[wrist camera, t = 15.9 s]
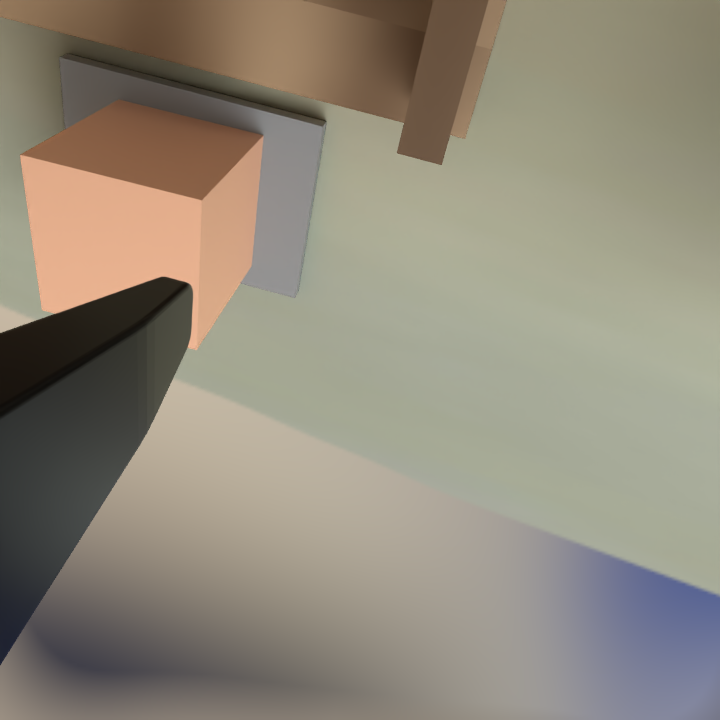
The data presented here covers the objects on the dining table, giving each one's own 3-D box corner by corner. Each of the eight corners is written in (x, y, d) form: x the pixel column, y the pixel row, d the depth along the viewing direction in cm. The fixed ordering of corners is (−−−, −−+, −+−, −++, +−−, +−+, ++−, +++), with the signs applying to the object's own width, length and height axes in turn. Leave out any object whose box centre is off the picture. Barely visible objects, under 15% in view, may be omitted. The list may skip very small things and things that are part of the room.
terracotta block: (263, 135, 19) (201, 200, 15) (251, 265, 22) (196, 349, 18) (118, 99, 19) (19, 154, 15) (124, 233, 22) (42, 309, 18)
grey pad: (326, 121, 19) (322, 126, 19) (298, 290, 23) (294, 298, 22) (68, 53, 19) (59, 57, 19) (81, 232, 23) (73, 238, 23)
